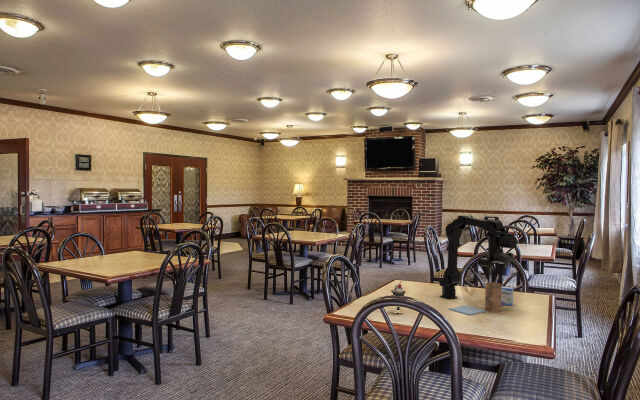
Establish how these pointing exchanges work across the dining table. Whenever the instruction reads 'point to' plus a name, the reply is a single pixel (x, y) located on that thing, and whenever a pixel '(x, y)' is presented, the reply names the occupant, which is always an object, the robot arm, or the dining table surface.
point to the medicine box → (507, 296)
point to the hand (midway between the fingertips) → (494, 278)
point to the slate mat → (467, 310)
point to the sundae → (398, 292)
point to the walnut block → (493, 297)
